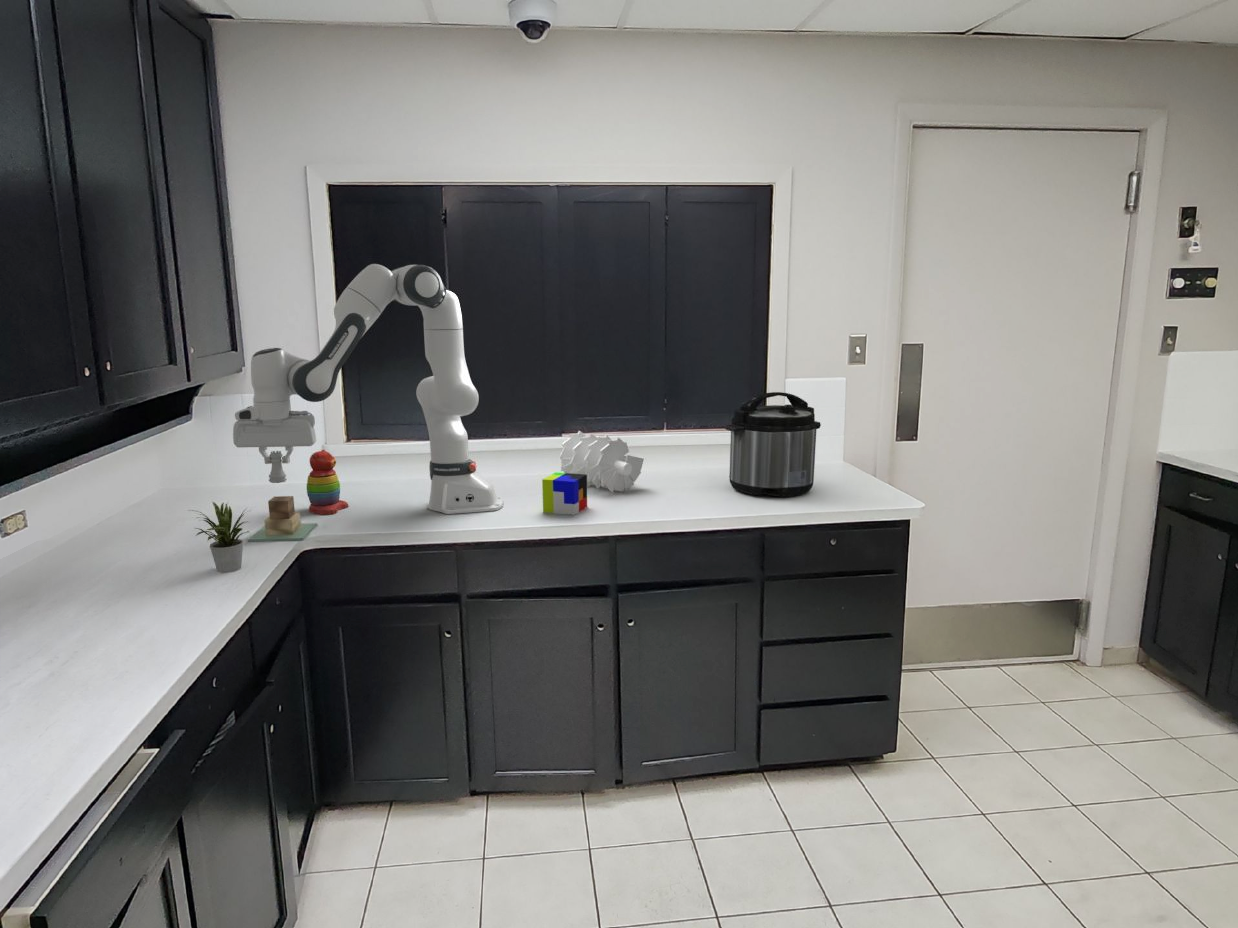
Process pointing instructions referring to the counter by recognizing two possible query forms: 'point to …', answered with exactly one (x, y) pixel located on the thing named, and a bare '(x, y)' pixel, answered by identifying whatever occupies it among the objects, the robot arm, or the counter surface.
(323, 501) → the stacking bear
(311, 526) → the build pad
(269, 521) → the oak base block
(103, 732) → the counter surface
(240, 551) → the house plant
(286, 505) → the walnut cube
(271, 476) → the rook chess piece
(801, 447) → the pressure cooker
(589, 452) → the spiral staircase
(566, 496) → the puzzle toy
